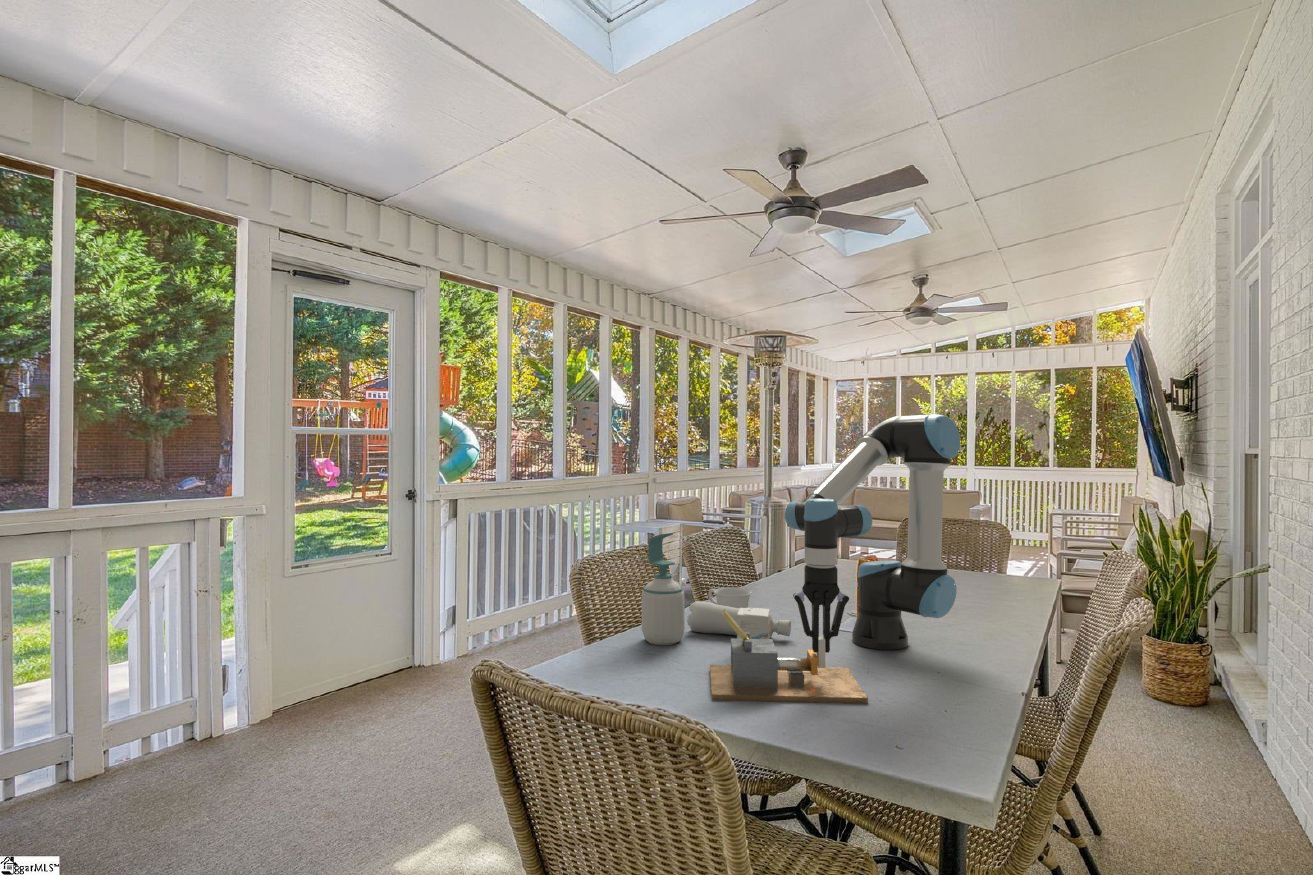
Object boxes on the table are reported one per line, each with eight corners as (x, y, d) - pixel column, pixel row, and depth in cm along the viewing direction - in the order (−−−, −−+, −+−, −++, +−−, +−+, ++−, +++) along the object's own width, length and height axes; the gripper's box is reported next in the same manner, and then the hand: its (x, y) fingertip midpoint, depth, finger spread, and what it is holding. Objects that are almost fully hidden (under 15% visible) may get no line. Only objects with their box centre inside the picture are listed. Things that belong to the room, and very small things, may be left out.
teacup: (718, 614, 222) (718, 584, 222) (758, 621, 214) (758, 590, 214) (699, 622, 213) (699, 590, 213) (740, 629, 204) (740, 597, 204)
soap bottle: (661, 650, 184) (661, 536, 184) (632, 640, 193) (632, 532, 193) (693, 641, 192) (693, 533, 192) (664, 632, 201) (664, 529, 201)
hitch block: (847, 672, 166) (847, 627, 166) (867, 703, 146) (867, 651, 146) (710, 669, 168) (709, 625, 168) (711, 700, 148) (711, 649, 148)
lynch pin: (813, 667, 159) (812, 649, 159) (817, 675, 153) (817, 657, 153) (756, 666, 160) (756, 648, 160) (758, 674, 154) (758, 656, 154)
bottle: (684, 624, 197) (785, 638, 187) (690, 595, 202) (789, 607, 191) (691, 635, 204) (789, 649, 194) (697, 606, 209) (793, 618, 198)
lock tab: (745, 641, 159) (749, 638, 159) (747, 646, 155) (751, 643, 155) (721, 611, 160) (725, 608, 160) (722, 616, 155) (726, 613, 155)
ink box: (768, 660, 175) (768, 615, 175) (736, 658, 176) (736, 614, 177) (770, 650, 183) (769, 608, 183) (739, 648, 185) (739, 606, 185)
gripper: (845, 562, 160) (845, 661, 159) (790, 562, 160) (790, 660, 160) (852, 568, 152) (853, 672, 152) (795, 567, 153) (795, 670, 153)
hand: (821, 665), depth 156 cm, fingers closed
